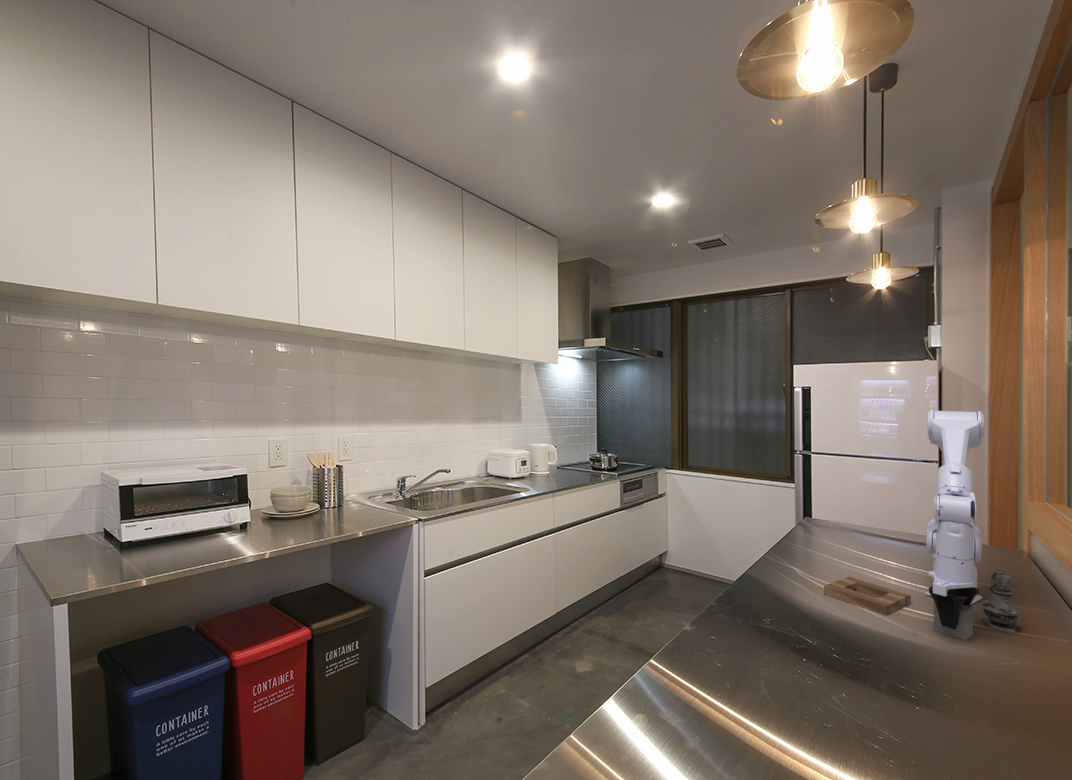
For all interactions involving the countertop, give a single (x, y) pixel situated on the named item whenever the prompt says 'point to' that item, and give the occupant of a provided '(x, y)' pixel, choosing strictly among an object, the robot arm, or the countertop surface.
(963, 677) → the countertop surface
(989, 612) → the weathered stone finial
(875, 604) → the socket frame
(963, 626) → the plug
